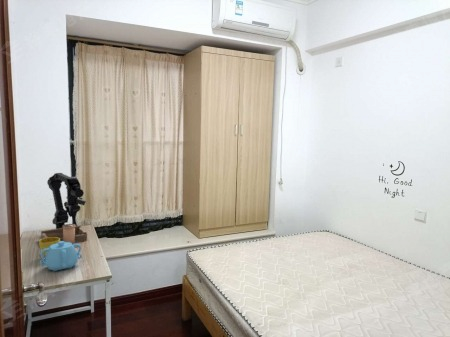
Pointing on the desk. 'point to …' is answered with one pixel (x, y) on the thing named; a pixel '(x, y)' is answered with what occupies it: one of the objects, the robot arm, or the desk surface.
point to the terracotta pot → (69, 233)
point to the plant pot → (48, 243)
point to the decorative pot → (60, 256)
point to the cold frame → (79, 233)
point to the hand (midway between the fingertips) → (72, 218)
